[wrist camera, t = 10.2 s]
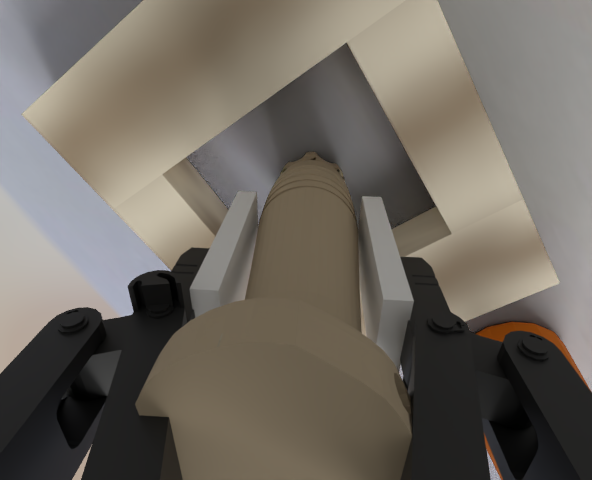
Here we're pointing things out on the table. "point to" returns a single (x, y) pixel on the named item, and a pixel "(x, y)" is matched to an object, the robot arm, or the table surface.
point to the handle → (287, 356)
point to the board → (262, 85)
